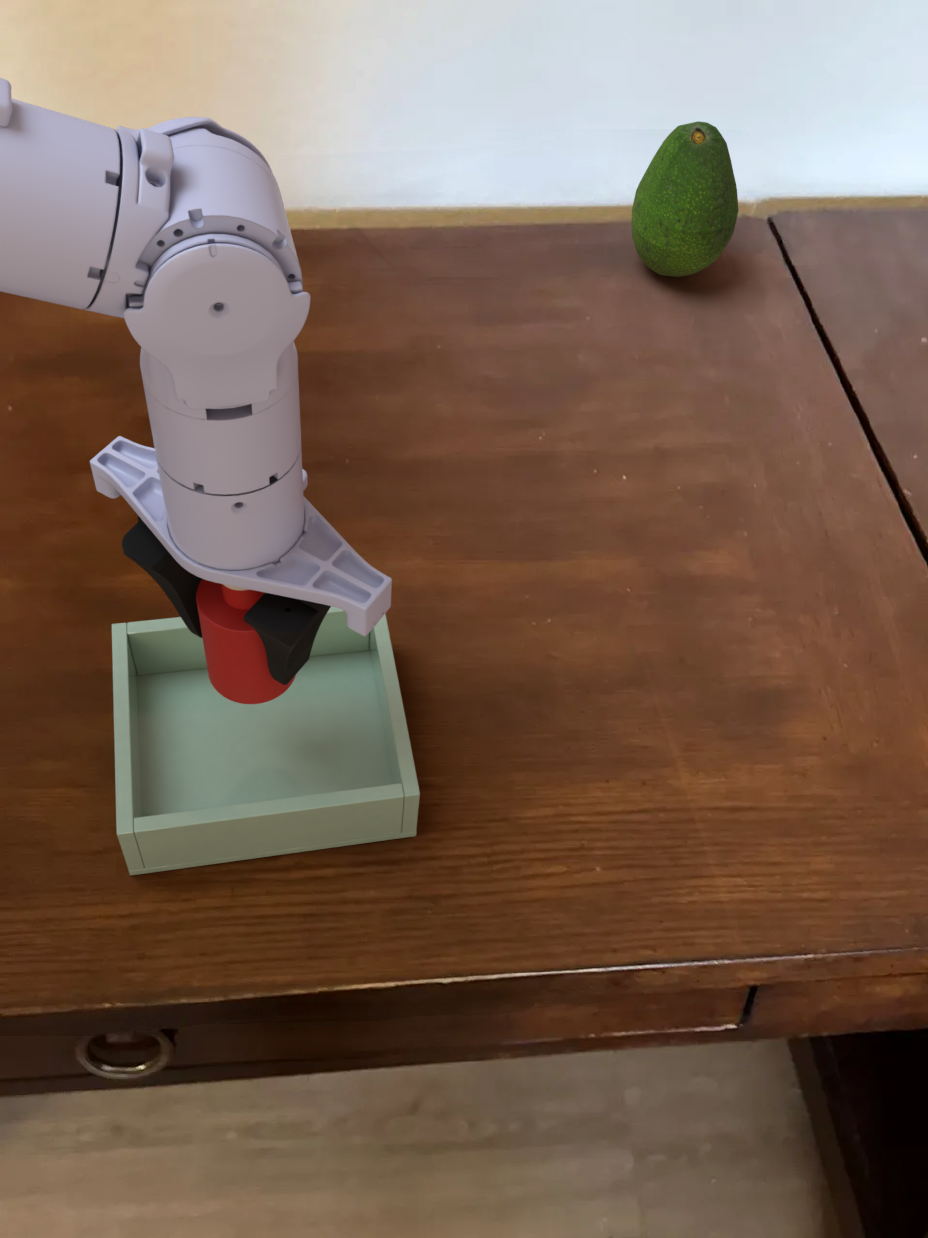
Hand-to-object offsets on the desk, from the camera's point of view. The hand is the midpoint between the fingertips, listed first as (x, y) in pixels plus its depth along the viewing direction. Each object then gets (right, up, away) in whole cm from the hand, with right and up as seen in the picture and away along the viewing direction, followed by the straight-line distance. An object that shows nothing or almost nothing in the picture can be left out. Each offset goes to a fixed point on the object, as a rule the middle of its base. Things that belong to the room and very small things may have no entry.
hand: (250, 645), depth 59 cm
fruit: (+26, +28, +36) cm, 53 cm away
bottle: (0, -1, +2) cm, 2 cm away
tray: (0, -6, +7) cm, 9 cm away
